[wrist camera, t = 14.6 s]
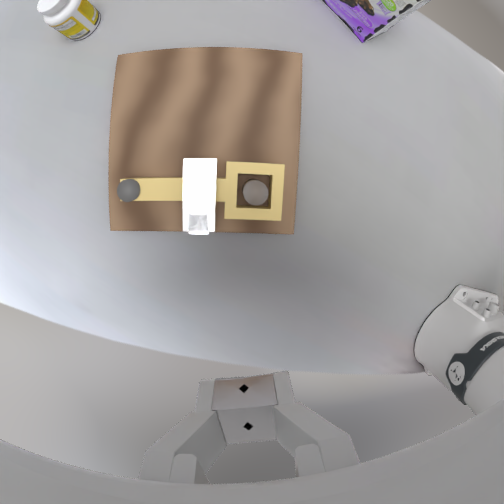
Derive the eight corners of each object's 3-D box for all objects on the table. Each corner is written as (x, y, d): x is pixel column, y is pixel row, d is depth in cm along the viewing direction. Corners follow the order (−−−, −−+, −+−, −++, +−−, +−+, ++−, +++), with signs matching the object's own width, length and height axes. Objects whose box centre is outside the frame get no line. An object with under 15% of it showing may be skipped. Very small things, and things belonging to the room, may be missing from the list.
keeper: (219, 159, 32) (216, 158, 27) (217, 223, 34) (214, 234, 29) (191, 159, 32) (183, 158, 26) (190, 223, 34) (182, 234, 28)
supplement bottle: (87, 5, 23) (57, -24, 14) (108, 17, 24) (79, -15, 15) (61, 33, 24) (26, 11, 15) (81, 46, 25) (44, 22, 16)
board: (299, 56, 29) (311, 39, 23) (291, 232, 35) (302, 244, 30) (121, 58, 27) (104, 43, 21) (114, 228, 33) (95, 239, 28)
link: (281, 164, 31) (286, 164, 28) (277, 217, 33) (282, 222, 30) (127, 162, 30) (117, 162, 27) (127, 213, 31) (117, 219, 28)
